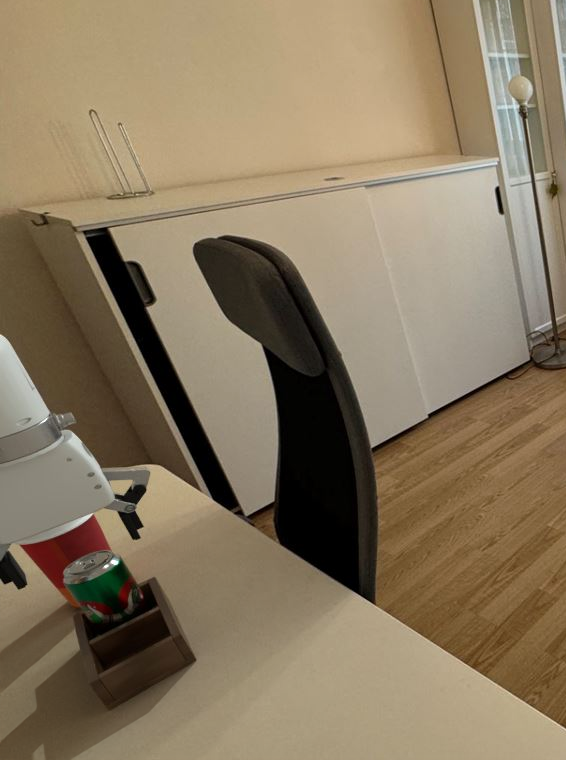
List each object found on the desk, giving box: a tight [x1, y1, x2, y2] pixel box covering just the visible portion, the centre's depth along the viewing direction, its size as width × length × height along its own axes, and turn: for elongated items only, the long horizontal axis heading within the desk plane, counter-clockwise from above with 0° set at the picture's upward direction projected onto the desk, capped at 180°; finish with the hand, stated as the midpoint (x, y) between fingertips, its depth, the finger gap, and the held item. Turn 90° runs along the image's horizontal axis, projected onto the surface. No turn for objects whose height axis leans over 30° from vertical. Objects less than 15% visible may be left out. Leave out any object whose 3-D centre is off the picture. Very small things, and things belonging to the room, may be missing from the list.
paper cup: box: [12, 513, 113, 608], centre depth 78 cm, size 8×8×14 cm
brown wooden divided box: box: [71, 576, 197, 711], centre depth 71 cm, size 8×15×5 cm, turn 52°
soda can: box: [63, 550, 153, 635], centre depth 71 cm, size 5×5×12 cm
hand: (81, 557), depth 68 cm, fingers open, 9 cm apart
